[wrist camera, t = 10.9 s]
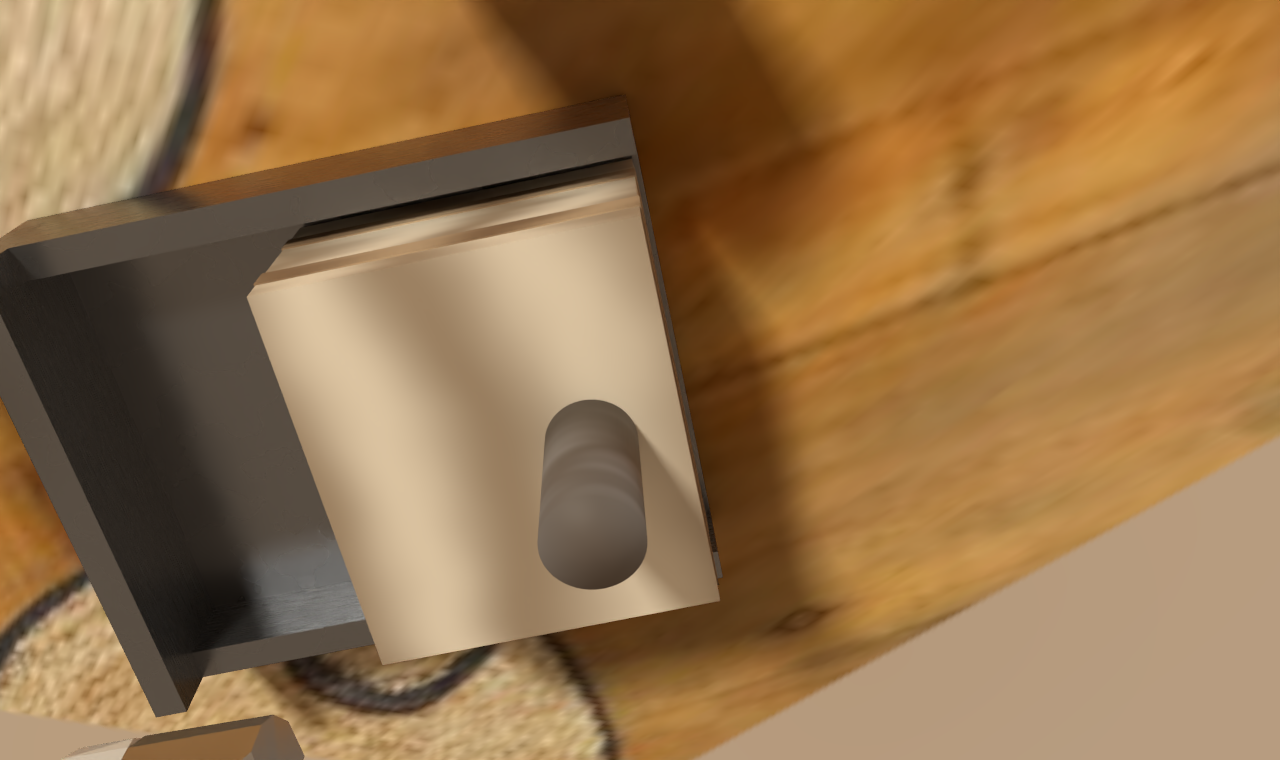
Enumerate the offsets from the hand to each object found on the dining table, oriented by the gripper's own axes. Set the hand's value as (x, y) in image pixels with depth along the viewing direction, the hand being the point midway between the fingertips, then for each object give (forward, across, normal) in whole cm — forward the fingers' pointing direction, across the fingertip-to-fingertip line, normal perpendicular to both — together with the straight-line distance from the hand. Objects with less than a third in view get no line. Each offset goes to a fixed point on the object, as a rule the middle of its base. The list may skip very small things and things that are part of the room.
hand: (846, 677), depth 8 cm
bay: (+34, +12, +11) cm, 38 cm away
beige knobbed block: (+33, +7, +11) cm, 35 cm away
